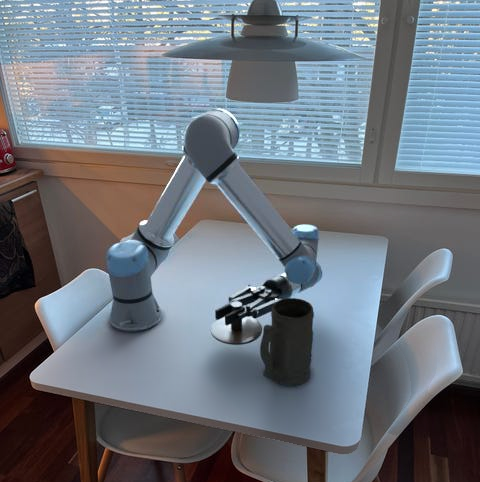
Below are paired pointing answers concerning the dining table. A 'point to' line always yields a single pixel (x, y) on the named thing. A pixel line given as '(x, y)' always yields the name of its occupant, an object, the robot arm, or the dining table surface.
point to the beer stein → (288, 342)
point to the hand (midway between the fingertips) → (221, 317)
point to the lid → (236, 329)
